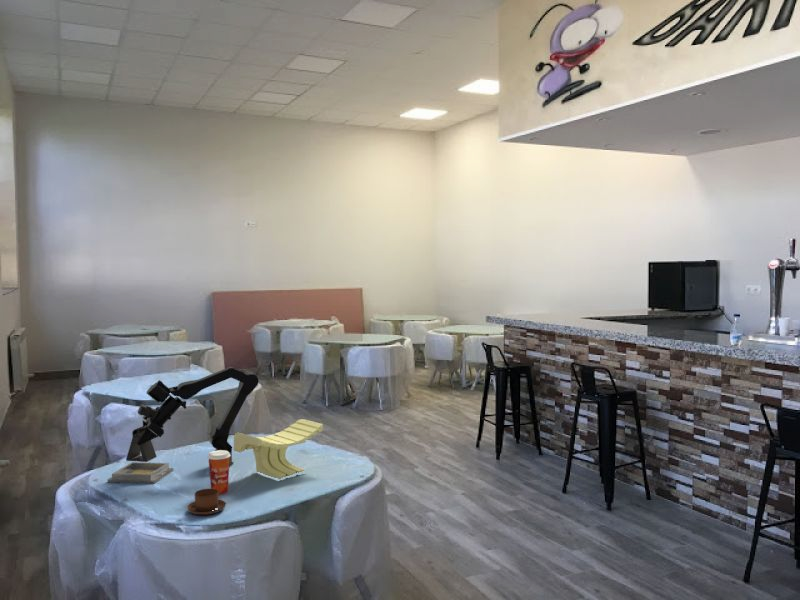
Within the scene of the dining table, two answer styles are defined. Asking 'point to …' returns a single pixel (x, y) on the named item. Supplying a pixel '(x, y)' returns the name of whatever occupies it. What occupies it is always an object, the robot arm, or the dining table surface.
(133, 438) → the phone stand
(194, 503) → the cup and saucer
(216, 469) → the paper cup
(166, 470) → the square tray
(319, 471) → the dining table surface
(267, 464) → the slatted curved stool
